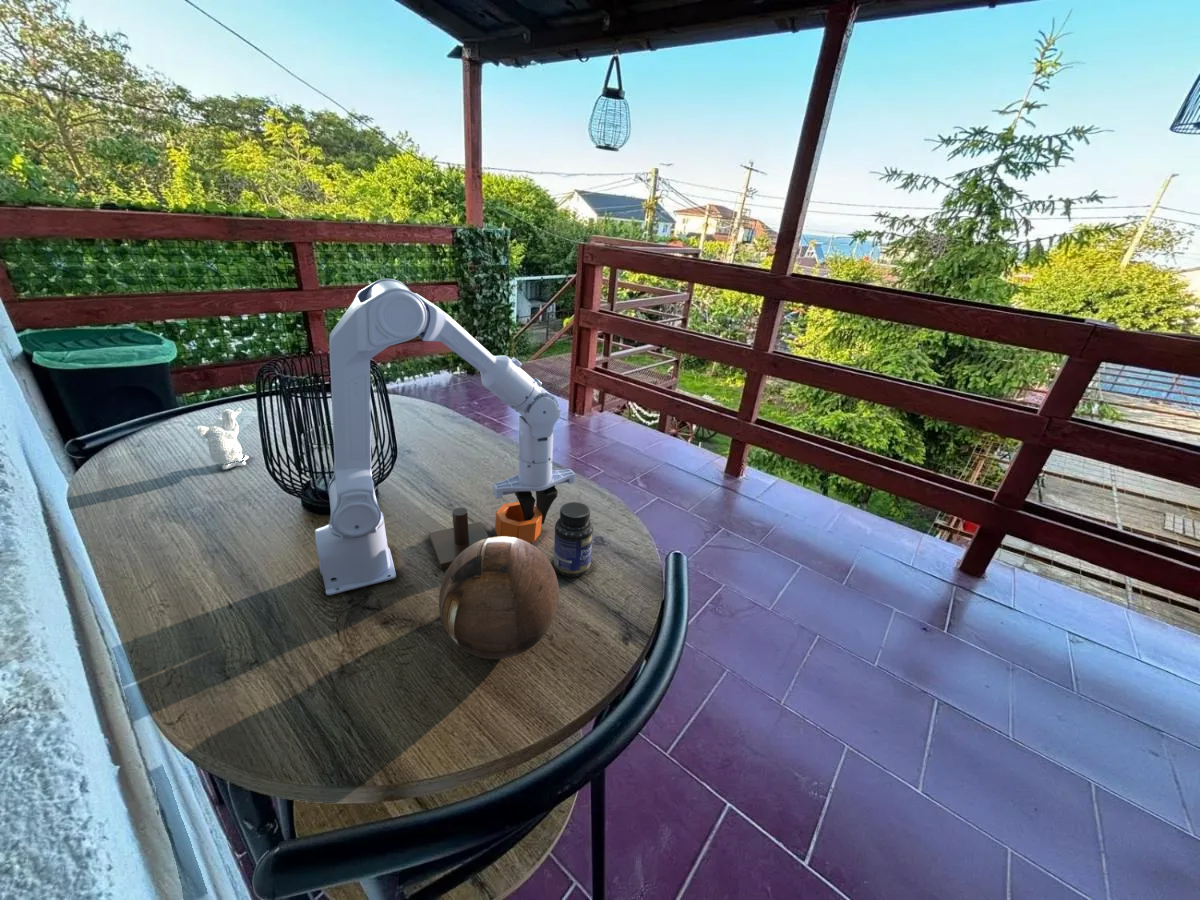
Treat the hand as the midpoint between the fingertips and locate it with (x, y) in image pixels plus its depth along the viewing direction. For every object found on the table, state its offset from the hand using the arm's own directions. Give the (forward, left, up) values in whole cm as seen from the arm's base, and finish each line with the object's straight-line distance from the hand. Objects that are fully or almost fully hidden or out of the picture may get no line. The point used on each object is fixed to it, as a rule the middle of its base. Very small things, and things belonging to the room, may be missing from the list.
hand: (534, 522), depth 87 cm
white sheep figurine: (-49, +46, -2) cm, 67 cm away
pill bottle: (+2, -12, -2) cm, 12 cm away
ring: (-3, 0, -1) cm, 3 cm away
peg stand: (-13, 0, -2) cm, 13 cm away
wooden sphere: (-13, -22, -2) cm, 26 cm away
